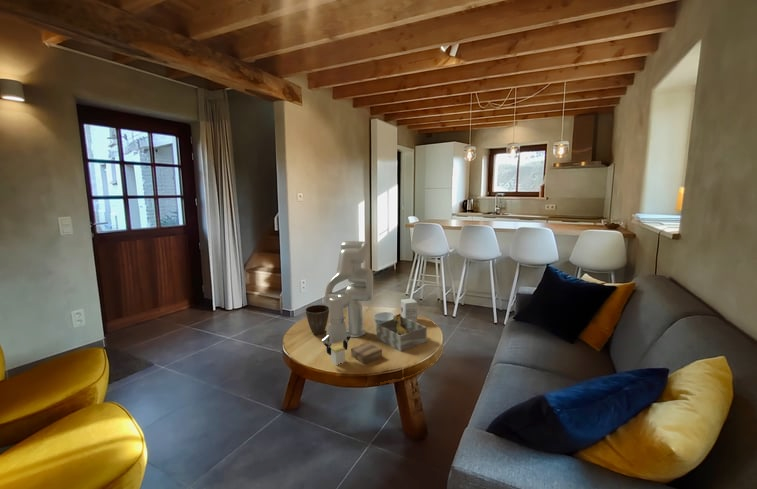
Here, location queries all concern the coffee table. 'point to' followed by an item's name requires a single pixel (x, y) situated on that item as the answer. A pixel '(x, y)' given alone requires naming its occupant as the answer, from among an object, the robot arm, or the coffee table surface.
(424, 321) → the coffee table surface
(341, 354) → the tea tin
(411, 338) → the grey crate
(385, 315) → the chinaware
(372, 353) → the walnut box
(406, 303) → the supplement box
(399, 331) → the stuffed giraffe
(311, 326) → the plant pot
